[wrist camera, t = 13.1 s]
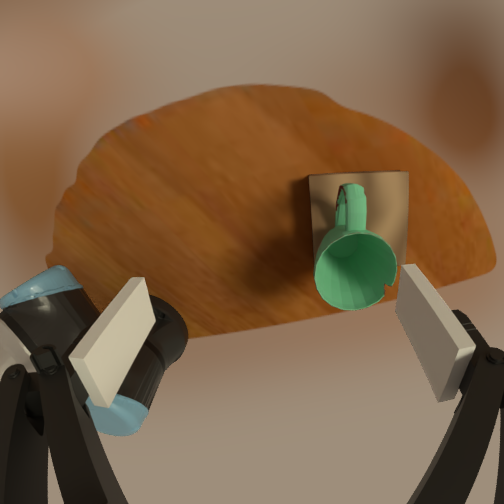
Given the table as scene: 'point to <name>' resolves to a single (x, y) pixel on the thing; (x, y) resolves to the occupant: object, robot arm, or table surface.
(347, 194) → the mug
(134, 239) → the table surface
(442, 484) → the robot arm
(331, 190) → the walnut board
